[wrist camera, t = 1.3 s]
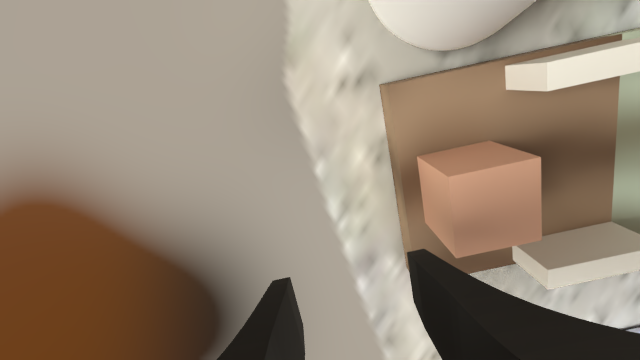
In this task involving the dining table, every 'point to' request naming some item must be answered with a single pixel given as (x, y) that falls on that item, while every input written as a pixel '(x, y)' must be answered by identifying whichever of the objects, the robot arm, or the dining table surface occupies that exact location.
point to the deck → (521, 143)
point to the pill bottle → (446, 20)
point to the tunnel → (597, 240)
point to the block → (482, 197)
